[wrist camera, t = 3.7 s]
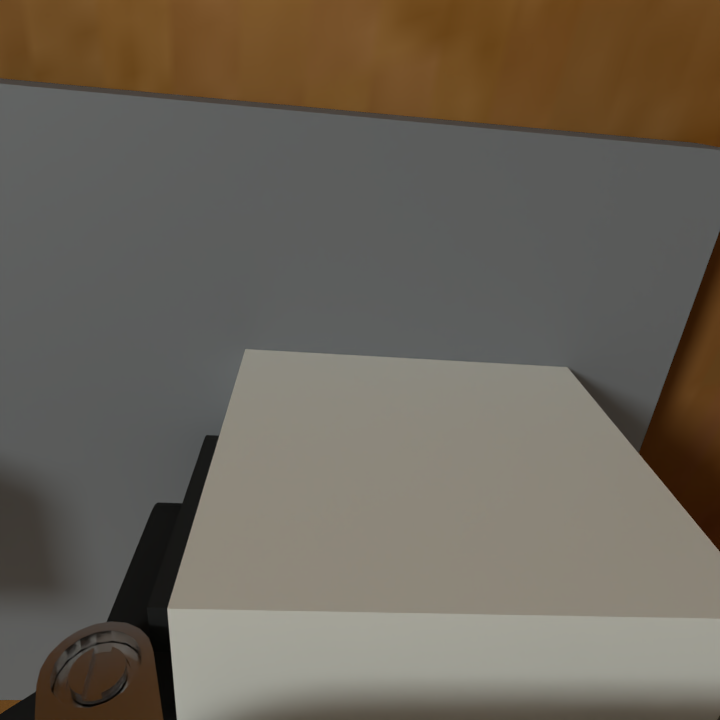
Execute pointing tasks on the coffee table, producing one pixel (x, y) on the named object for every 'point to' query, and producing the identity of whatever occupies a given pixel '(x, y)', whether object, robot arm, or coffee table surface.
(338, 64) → the coffee table surface
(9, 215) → the board
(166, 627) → the robot arm
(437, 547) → the cream foam cube
